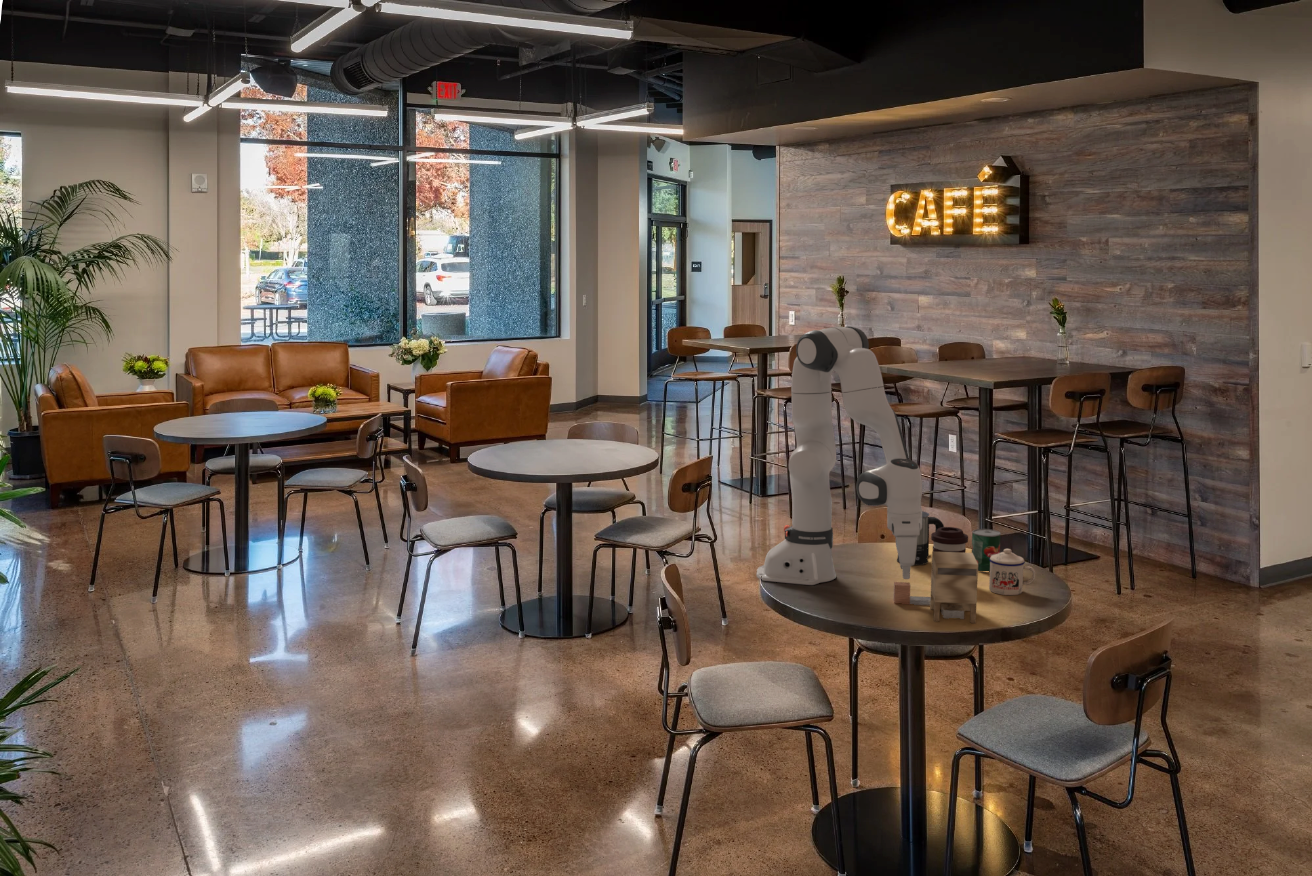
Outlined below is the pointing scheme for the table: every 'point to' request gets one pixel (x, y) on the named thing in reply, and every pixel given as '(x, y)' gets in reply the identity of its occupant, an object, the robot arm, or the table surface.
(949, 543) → the coffee cup
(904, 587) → the blade tool
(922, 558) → the milk frother
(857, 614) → the table surface
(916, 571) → the table surface
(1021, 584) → the teacup with lid
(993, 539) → the canned tomato
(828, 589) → the table surface
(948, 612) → the block
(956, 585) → the cabinet
